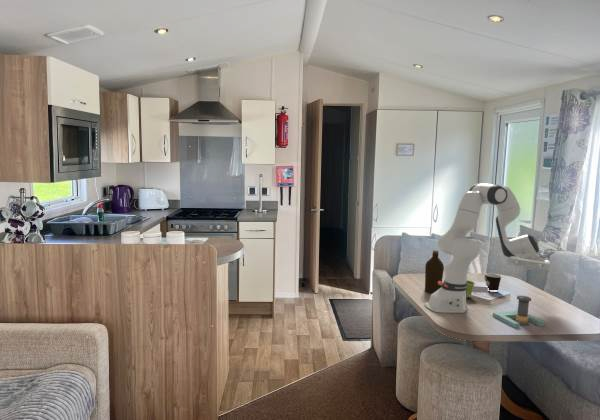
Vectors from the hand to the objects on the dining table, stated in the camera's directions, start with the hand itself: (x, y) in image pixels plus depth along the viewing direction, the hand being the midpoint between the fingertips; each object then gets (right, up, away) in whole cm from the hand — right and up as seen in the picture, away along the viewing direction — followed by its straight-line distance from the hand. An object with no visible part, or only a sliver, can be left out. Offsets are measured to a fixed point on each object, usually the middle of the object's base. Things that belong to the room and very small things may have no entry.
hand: (527, 265), depth 238 cm
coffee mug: (0, -21, +45) cm, 50 cm away
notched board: (-8, -27, -7) cm, 29 cm away
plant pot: (-21, -22, +31) cm, 44 cm away
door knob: (-8, -27, -9) cm, 30 cm away
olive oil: (-38, -21, +39) cm, 58 cm away
